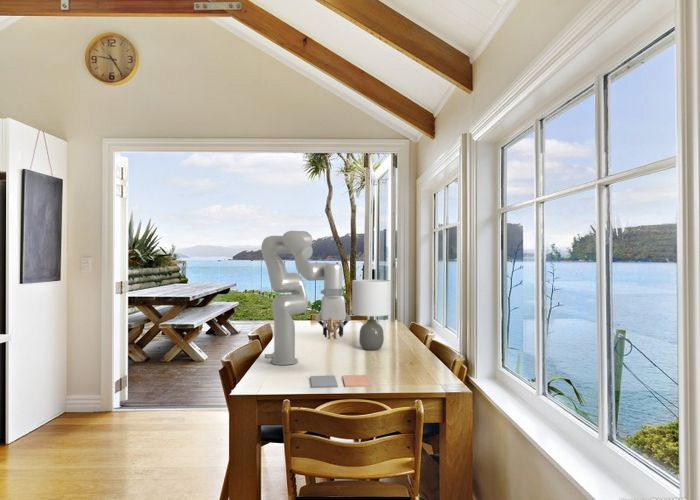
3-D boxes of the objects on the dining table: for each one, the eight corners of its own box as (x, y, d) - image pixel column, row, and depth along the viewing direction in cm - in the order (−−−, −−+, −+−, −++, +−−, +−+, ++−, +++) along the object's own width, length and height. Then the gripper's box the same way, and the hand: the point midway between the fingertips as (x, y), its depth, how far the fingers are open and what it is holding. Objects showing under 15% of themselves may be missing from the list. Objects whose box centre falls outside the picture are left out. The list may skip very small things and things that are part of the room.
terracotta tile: (345, 388, 191) (345, 385, 191) (342, 378, 207) (342, 375, 207) (371, 388, 191) (371, 384, 191) (366, 377, 207) (366, 374, 207)
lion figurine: (337, 341, 202) (337, 318, 202) (324, 340, 202) (324, 318, 203) (344, 335, 216) (344, 314, 216) (332, 335, 217) (332, 314, 217)
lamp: (345, 347, 271) (345, 280, 271) (377, 344, 281) (377, 279, 281) (364, 354, 253) (365, 282, 253) (398, 350, 263) (398, 281, 263)
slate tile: (311, 389, 189) (311, 386, 189) (310, 378, 205) (310, 375, 205) (338, 388, 190) (338, 385, 190) (334, 378, 206) (334, 375, 206)
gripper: (312, 294, 203) (312, 338, 203) (354, 293, 205) (354, 337, 205) (312, 292, 210) (312, 335, 210) (352, 292, 212) (352, 334, 212)
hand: (333, 336), depth 207 cm, fingers closed on lion figurine, 5 cm apart
